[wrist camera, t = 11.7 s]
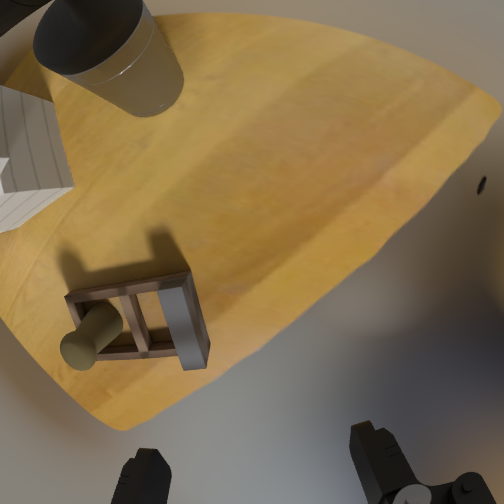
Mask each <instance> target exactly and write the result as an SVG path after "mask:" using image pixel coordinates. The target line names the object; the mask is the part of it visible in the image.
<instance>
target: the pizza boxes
mask: <svg viewBox="0 0 504 504" xmlns="http://www.w3.org/2000/svg"><path fill="white" fill-rule="evenodd" d="M73 188H75V184H74V181H73V178H72V174H71V171H70V168H69V164H68V161H67V157H66V154H65V150H64V146H63V142H62V138H61V134H60V130H59V125H58V121H57V116H56V111H55V106H54V103H52V102H50V101H47V100H44V99H41V98H38V97H35V96H32V95H29V94H26V93H23V92H20V91H17V90H14V89H11V88H8V87H5V86H1V85H0V233H2V232H6V231H9V230H13V229H16V228H18V227H20V226H21V225H22V224H23V223H25V222H26V221H27V220H29V219H30V218H31V217H33V216H34V215H35V214H37V213H38V212H39V211H41V210H42V209H44V208H45V207H46V206H48V205H49V204H51V203H52V202H54V201H55V200H56V199H58V198H59V197H61V196H62V195H64V194H65V193H67V192H68V191H70V190H72V189H73Z"/></svg>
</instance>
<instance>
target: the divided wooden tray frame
mask: <svg viewBox="0 0 504 504" xmlns="http://www.w3.org/2000/svg"><path fill="white" fill-rule="evenodd" d="M151 291H157V293H158V296H159V299H160V303H161V306H162V309H163V312H164V316H165V319H166V322H167V325H168V328H169V331H170V334H171V337H172V340H173V341H172V342H163V343H152V341H151V338H150V335H149V333H148V330H147V327H146V324H145V321H144V318H143V316H142V313H141V310H140V307H139V303H138V300H137V297H136V294H138V293H144V292H151ZM118 296H119V298H120V301H121V304H122V307H123V310H124V313H125V316H126V318H127V321H128V324H129V327H130V329H131V332H132V335H133V337H134V340H135V342H136V345H129V346H115V347H104V348H103V349H102V350H101V351H100V352H99V353H97V358H96V361H104V360H129V359H145V358H159V357H170V356H178V357H179V359H180V362H181V365H182V368H183V370H184V371H186V370H196V369H206V367H207V361H208V356H209V350H210V340H209V337H208V333H207V330H206V326H205V323H204V319H203V315H202V312H201V308H200V304H199V300H198V297H197V293H196V289H195V285H194V281H193V277H192V273H191V271H186V272H181V273H175V274H169V275H164V276H158V277H152V278H146V279H141V280H135V281H129V282H123V283H117V284H111V285H106V286H100V287H94V288H88V289H82V290H76V291H71V292H70V293H68V294H67V295H66V296H64V297H65V300H66V303H67V306H68V308H69V311H70V314H71V316H72V319H73V321H74V324H75V326H76V329H77V327H78V326H79V324H80V323H81V322H82V320H83V319H84V317H85V316H86V314H87V313H86V310H85V308H84V305H83V302H84V301H91V300H98V299H105V298H112V297H118Z"/></svg>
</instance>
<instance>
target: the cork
mask: <svg viewBox="0 0 504 504" xmlns="http://www.w3.org/2000/svg"><path fill="white" fill-rule="evenodd" d="M122 329H123V320H122V317H121V315H120V314H119V312H118V311H117V310H116V309H115V308H114V307H113V306H111V305H110V304H108V303H104V302H98V303H96V304H94V305H93V306H92V307H91V309H90V310H89V312H88V313H87V314H86V316H85V317H84V319H83V320H82V322H81V323H80V324H79V326H78V327H77V329H76V330H75V331H73V332H70V333H68V334H66V335H65V336H64V338H63V339H62V341H61V344H60V351H61V355H62V357H63V359H64V360H65V362H66V363H67V364H68V365H69V366H71V367H72V368H74V369H76V370H80V371H84V370H88V369H90V368H91V367H92V366H93V365H94V363H95V361H96V358H97V353H99V352H100V351H101V350H102V349H103V348H104V347H105V346H107V345H108V344H109V343H110V342H111V341H112V340H114V339H115V338H116V337H117V336H118V335H119V334H120V333H121V332H122Z"/></svg>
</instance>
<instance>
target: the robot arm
mask: <svg viewBox="0 0 504 504" xmlns="http://www.w3.org/2000/svg"><path fill="white" fill-rule="evenodd" d="M50 1H52V0H0V37H1V36H2V35H4V34H5V33H6V32H7V31H9V30H10V29H11V28H13V27H14V26H15V25H17V24H18V23H19V22H21V21H22V20H23V19H25V18H26V17H27V16H29V15H30V14H32V13H33V12H35V11H36V10H38V9H39V8H41V7H42V6H44V5H45V4H47V3H48V2H50ZM33 50H34V54H35V57H36V59H37V60H38V61H39V63H41V64H42V65H43V66H45V67H46V68H48V69H50V70H52V71H54V72H56V73H58V74H60V75H62V76H63V77H65V78H67V79H69V80H71V81H73V82H75V83H77V84H79V85H80V86H82V87H84V88H86V89H88V90H89V91H91V92H93V93H95V94H97V95H98V96H100V97H102V98H104V99H105V100H107V101H109V102H111V103H112V104H114V105H116V106H117V107H119V108H121V109H123V110H124V111H126V112H128V113H129V114H131V115H133V116H137V117H151V116H155V115H157V114H160V113H162V112H163V111H165V110H167V109H168V108H169V107H170V106H171V105H173V103H174V102H175V101H176V100H177V99H178V97H179V95H180V93H181V91H182V88H183V82H184V78H183V72H182V70H181V68H180V66H179V64H178V62H177V61H176V59H175V57H174V55H173V53H172V51H171V49H170V48H169V46H168V44H167V42H166V40H165V39H164V37H163V35H162V33H161V31H160V30H159V28H158V26H157V24H156V22H155V21H154V19H153V17H152V16H151V14H150V12H149V11H148V9H147V7H146V5H145V3H144V2H143V0H55V1H54V2H53V3H52V4H51V6H50V7H49V8H48V10H47V11H46V12H45V14H44V16H43V17H42V19H41V21H40V23H39V25H38V27H37V29H36V32H35V36H34V41H33ZM349 448H350V453H351V457H352V460H353V462H354V465H355V468H356V471H357V473H358V476H359V479H360V481H361V484H362V487H363V490H364V492H365V495H366V498H367V501H368V504H496V502H495V500H494V498H493V496H492V494H491V492H490V490H489V489H488V487H487V485H486V483H485V481H484V480H483V478H482V476H481V475H480V474H478V473H475V472H467V473H464V474H462V475H461V476H459V477H458V478H457V479H456V480H455V481H454V482H450V483H446V484H442V485H437V486H427V485H424V484H422V483H420V482H419V481H418V480H417V479H416V477H415V475H414V473H413V471H412V469H411V468H410V466H409V464H408V462H407V460H406V458H405V456H404V454H403V453H402V451H401V448H400V447H399V446H398V443H397V441H396V439H395V437H394V436H393V434H391V433H390V432H389V431H388V430H386V429H385V428H381V429H379V430H376V431H375V429H374V427H373V425H372V423H371V422H370V421H369V420H368V421H365V422H362V423H358V424H355V425H352V426H351V434H350V443H349ZM120 475H121V477H119V481H118V484H117V486H116V489H115V492H114V495H113V498H112V501H111V504H167V499H168V494H169V488H170V483H171V478H172V475H171V469H170V466H169V465H168V464H167V462H166V461H165V460H164V458H163V457H162V455H161V454H160V452H159V451H158V450H157V449H148V448H139V449H138V451H137V454H136V456H135V458H130V459H129V460H128V461H127V463H126V464H125V465H124V466H123V468H122V471H121V474H120Z"/></svg>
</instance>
